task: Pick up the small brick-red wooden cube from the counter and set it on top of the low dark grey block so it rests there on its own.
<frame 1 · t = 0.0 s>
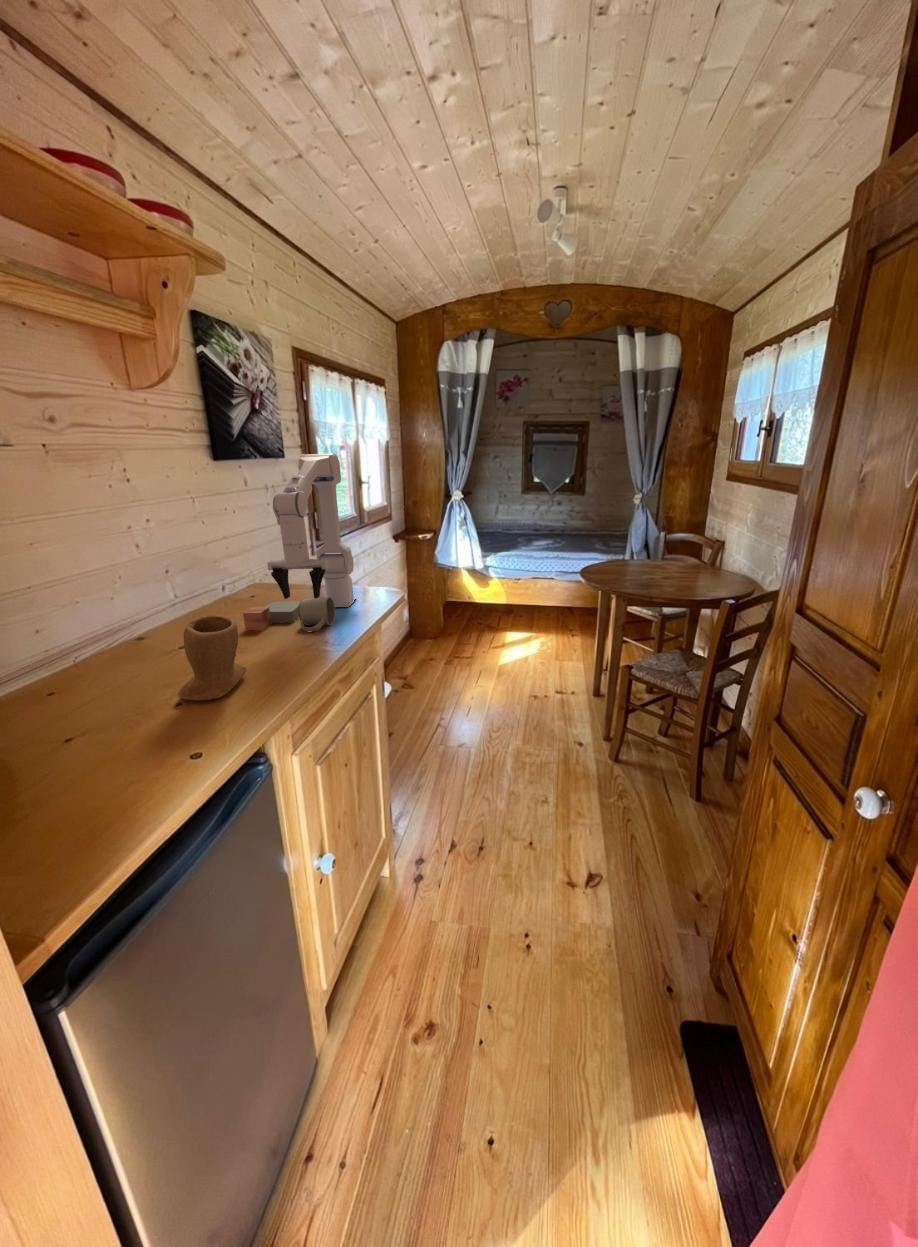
hand: (302, 597, 135), 10 cm above the worktop, tool pointing down, fingers open, 7 cm apart
red cube: (258, 627, 146), on the worktop
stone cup: (220, 689, 110), on the worktop
grey block: (283, 618, 155), on the worktop
ceramic mug: (317, 626, 146), on the worktop
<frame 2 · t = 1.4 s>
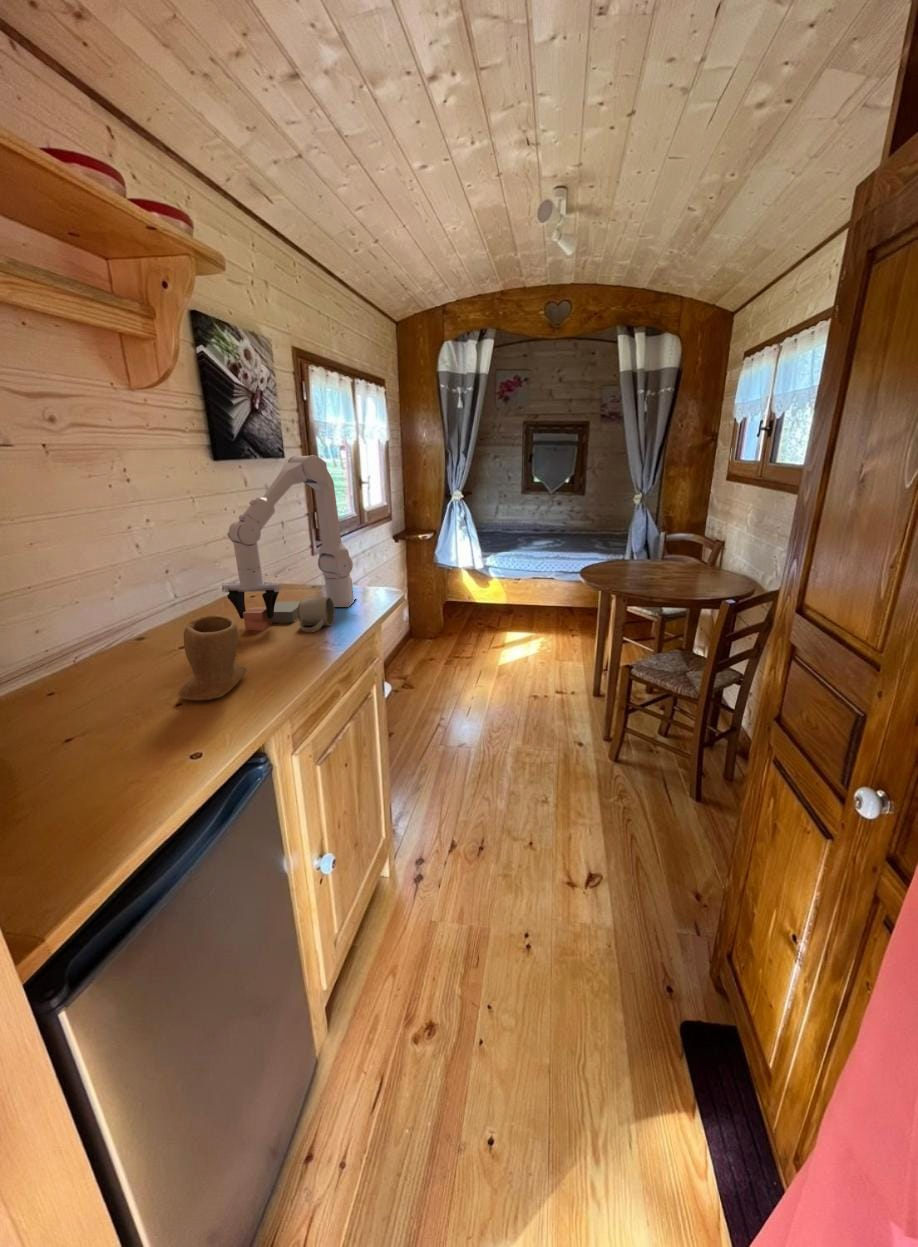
hand: (257, 617, 146), 3 cm above the worktop, tool pointing down, fingers open, 7 cm apart
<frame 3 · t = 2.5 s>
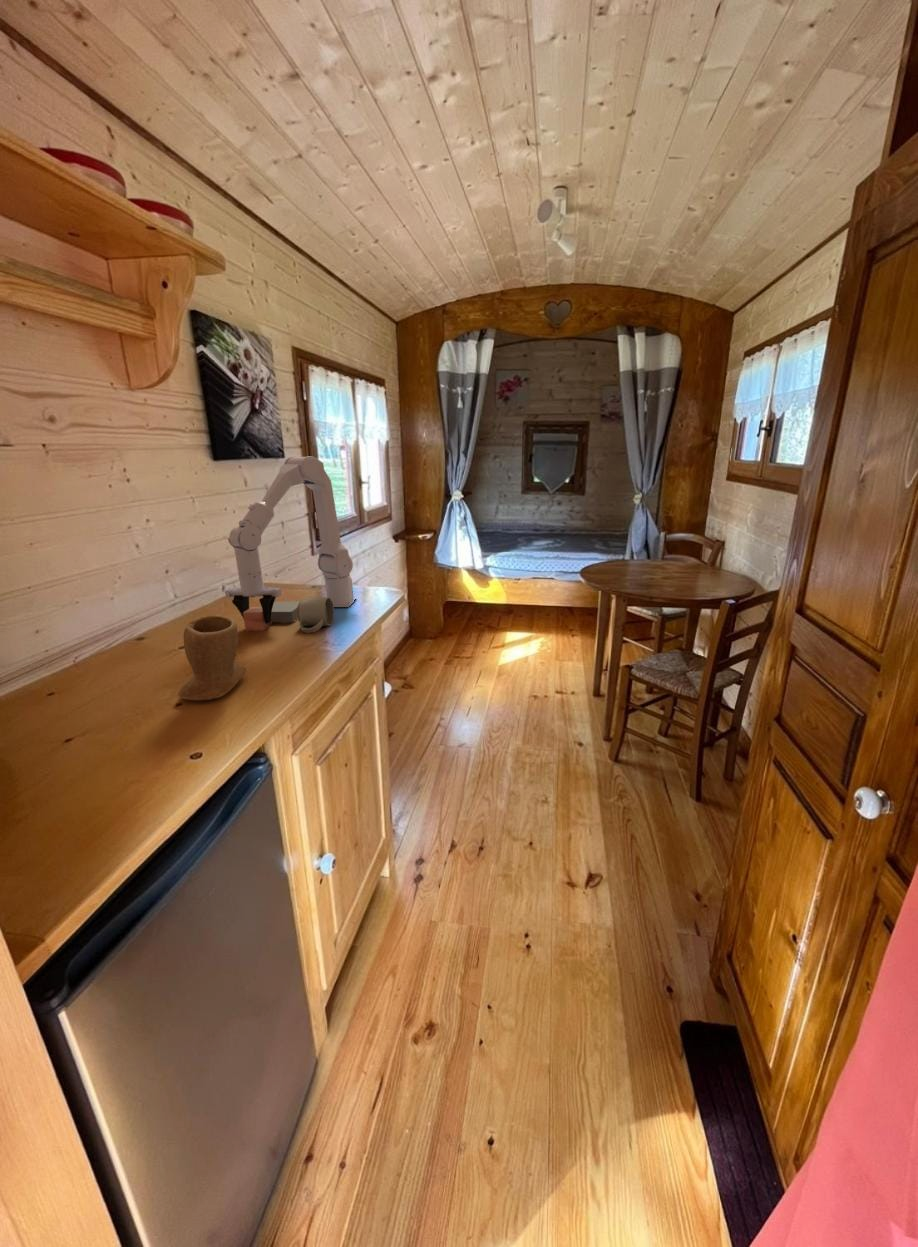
hand: (258, 622, 146), 1 cm above the worktop, tool pointing down, fingers closed on red cube, 5 cm apart
red cube: (258, 627, 146), on the worktop, touching gripper
everything else where it was.
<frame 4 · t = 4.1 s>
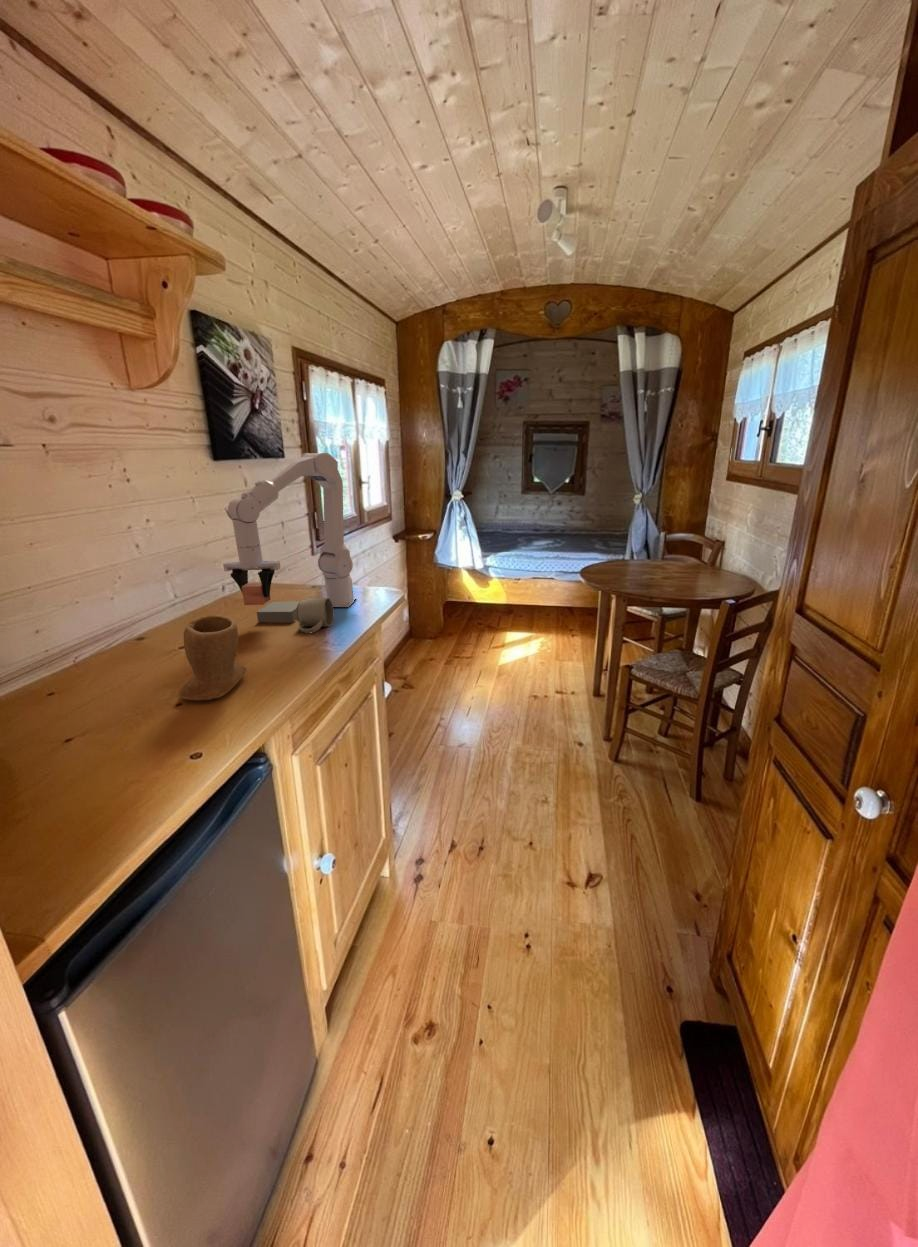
hand: (256, 596, 145), 8 cm above the worktop, tool pointing down, fingers closed on red cube, 5 cm apart
red cube: (257, 602, 145), point 7 cm above the worktop, touching gripper
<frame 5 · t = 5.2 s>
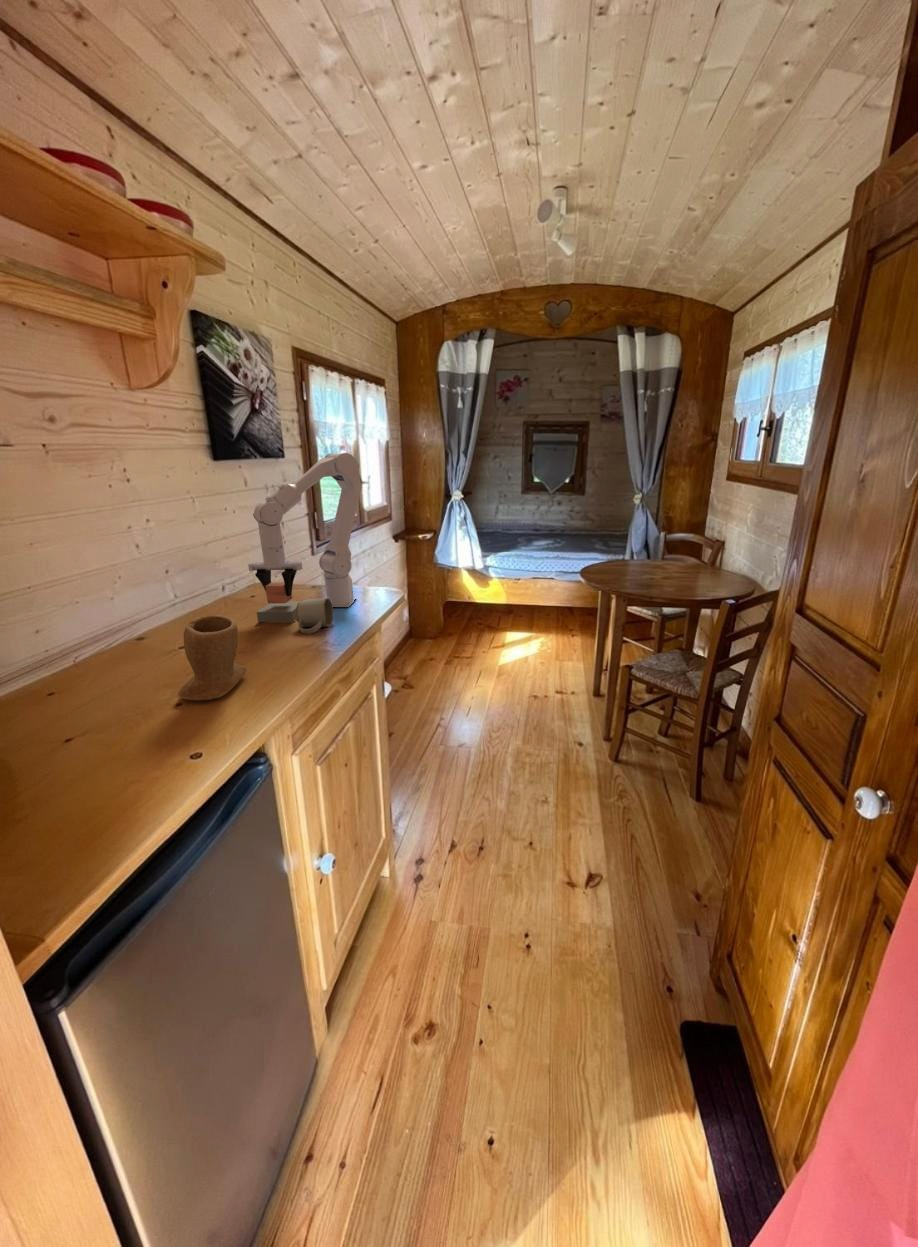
hand: (279, 595, 153), 6 cm above the worktop, tool pointing down, fingers closed on red cube, 5 cm apart
red cube: (280, 600, 153), point 5 cm above the worktop, touching gripper
when the fingers open (6 cm above the worktop, at t = 5.9 s): red cube drops 2 cm, resting on grey block.
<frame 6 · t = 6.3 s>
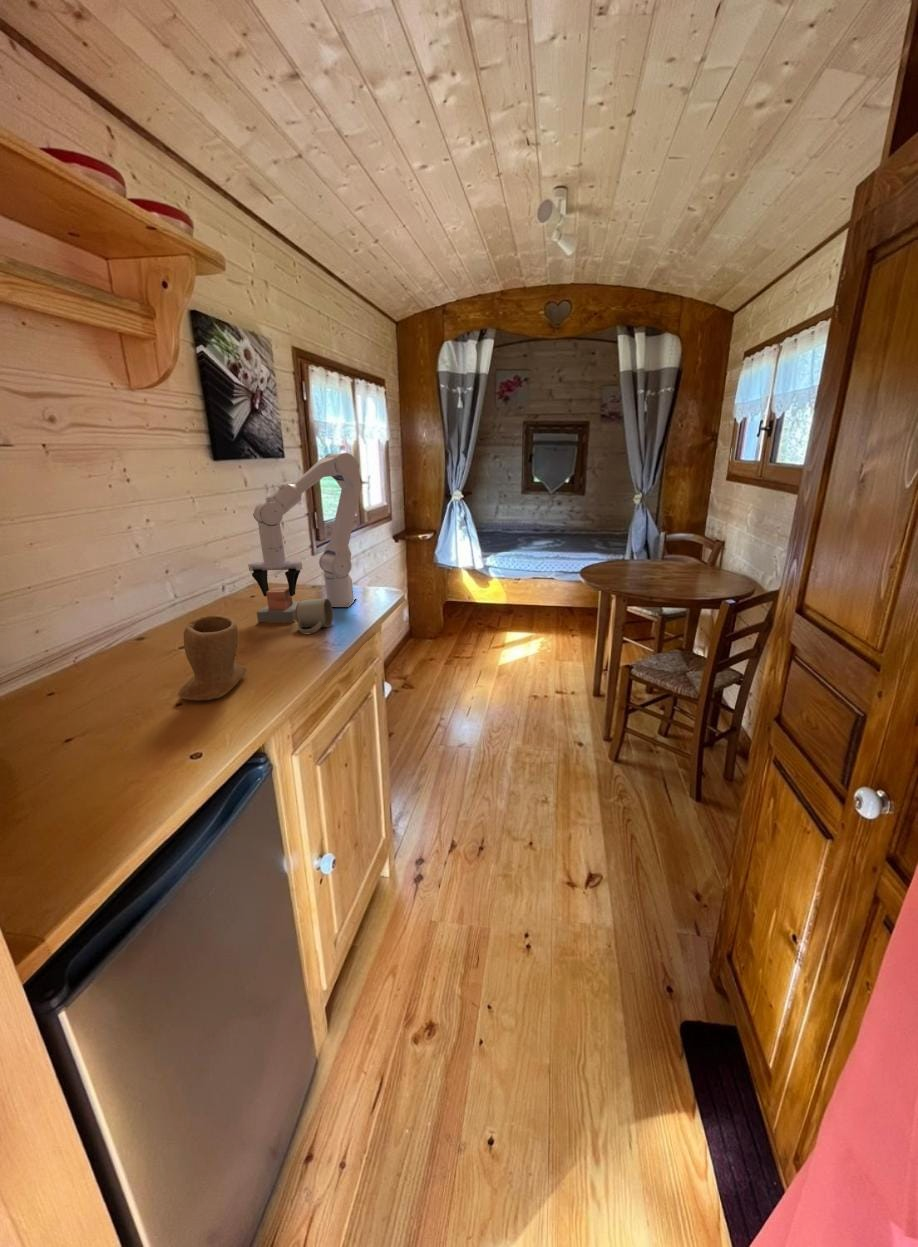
hand: (279, 595, 153), 6 cm above the worktop, tool pointing down, fingers open, 7 cm apart
red cube: (280, 606, 154), point 3 cm above the worktop, touching grey block
grey block: (283, 618, 155), on the worktop, touching red cube
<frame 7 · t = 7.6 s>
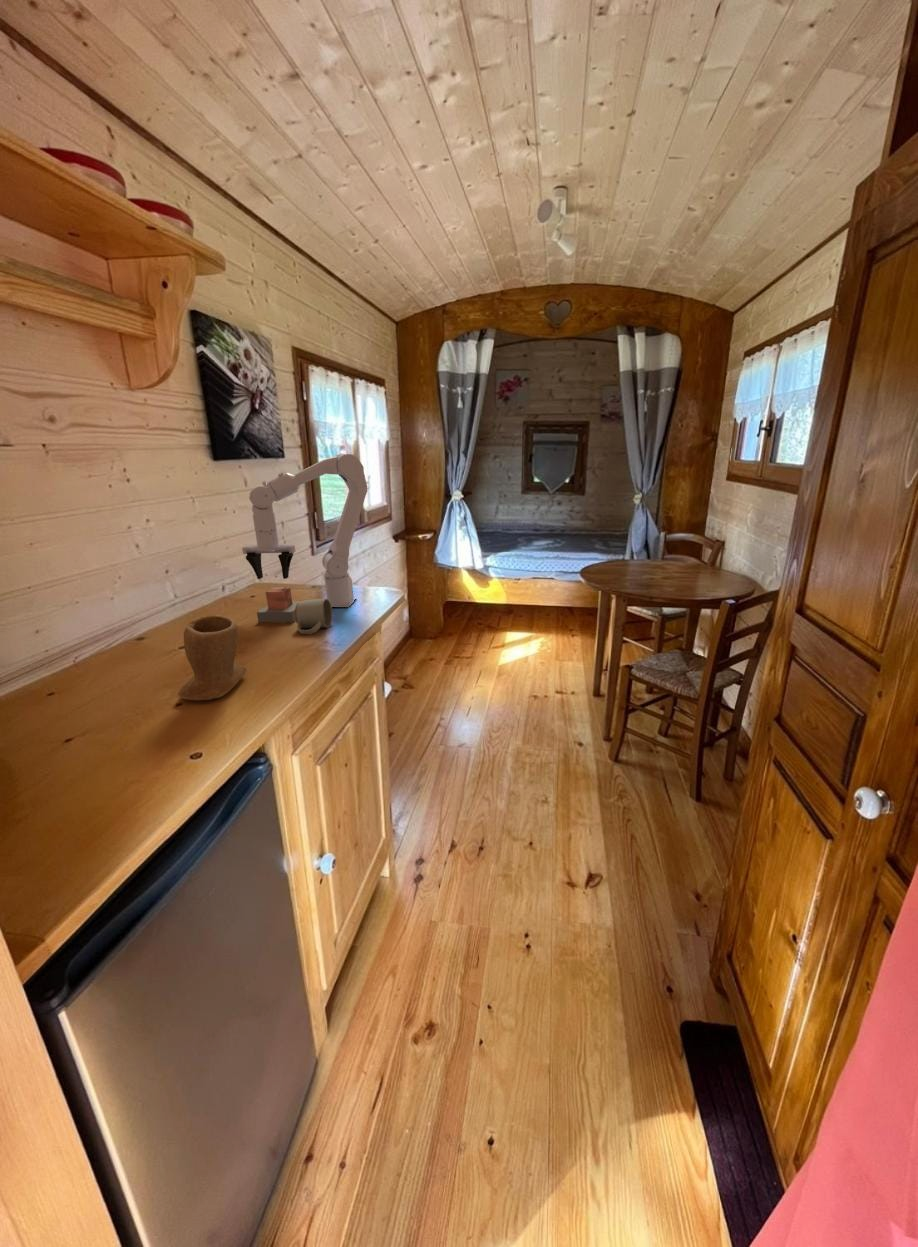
hand: (273, 578, 155), 10 cm above the worktop, tool pointing down, fingers open, 7 cm apart
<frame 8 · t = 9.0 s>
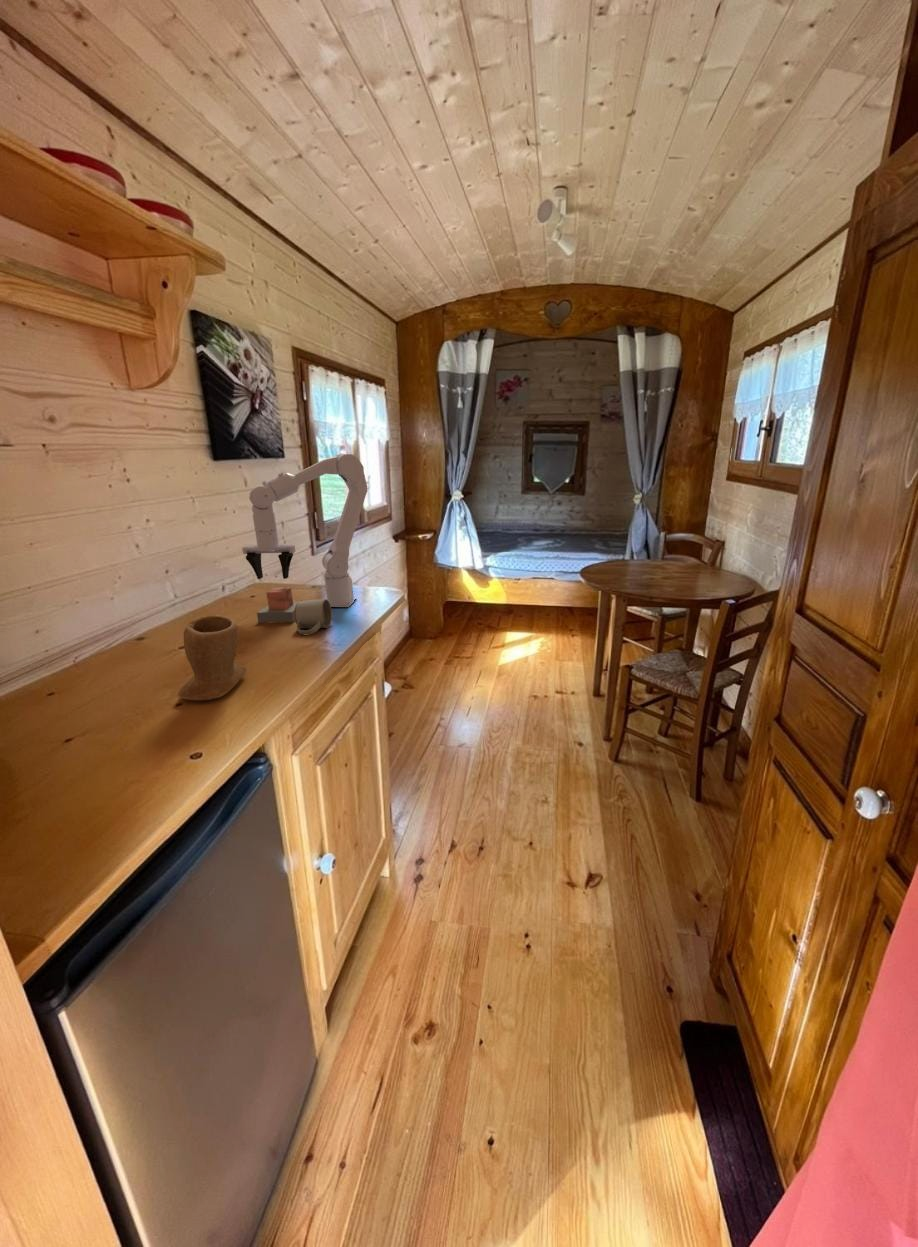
hand: (273, 578, 155), 10 cm above the worktop, tool pointing down, fingers open, 7 cm apart
red cube: (281, 606, 154), point 3 cm above the worktop
grey block: (283, 618, 155), on the worktop
at the end: red cube 0.1 cm off-centre on the grey block, point 3.5 cm above the grey block's base; red cube tilted 0°; the gripper is holding nothing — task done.
